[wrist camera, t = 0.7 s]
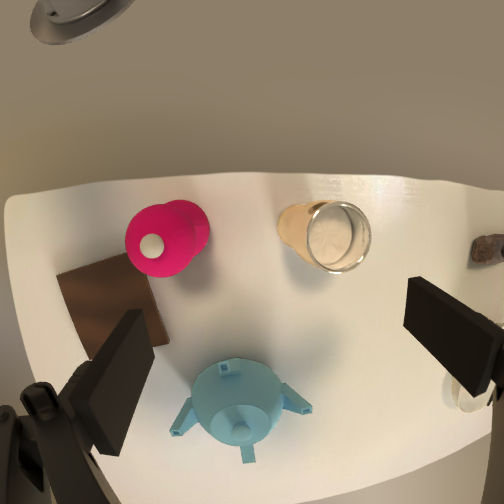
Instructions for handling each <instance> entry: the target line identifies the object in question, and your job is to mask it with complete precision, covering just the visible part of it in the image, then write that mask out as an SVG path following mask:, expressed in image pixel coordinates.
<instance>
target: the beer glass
mask: <svg viewBox="0 0 504 504" xmlns="http://www.w3.org/2000/svg"><path fill="white" fill-rule="evenodd" d="M277 230H278V234H279V237H280V239H281V240H282V241H283V243H284V244H286V245H287V246H289V247H291V248H293V249H294V250H295V251H296V253H297V254H298V255H299V256H300V257H301V258H302V259H303V260H305V261H306V262H307V263H309V264H311V265H313V266H315V267H317V268H320V269H323V270H325V271H327V272H330V273H344V272H348V271H350V270H352V269H354V268H355V267H357V266H358V265H359V264H360V263H361V262H362V261H363V260H364V258H365V257H366V255H367V253H368V251H369V248H370V244H371V228H370V224H369V222H368V219H367V218H366V216H365V215H364V213H363V212H362V211H361V210H360V209H359V208H358V207H356V206H355V205H353V204H350V203H348V202H342V201H335V200H318V201H313V202H310V203H308V204H306V205H293V206H290V207H288V208H287V209H286V210H284V211H283V213H282V214H281V216H280V217H279V220H278V224H277Z"/></svg>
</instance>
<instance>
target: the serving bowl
mask: <svg viewBox="0 0 504 504" xmlns="http://www.w3.org/2000/svg"><path fill="white" fill-rule="evenodd" d="M496 324H497V325H498V326H500V327H501V328H503V329H504V323H496ZM494 387H495V383H494V382H493V381H492V380H491V381H490V384H489V386H488V389H487V391H486V392H485V393H483V394H481V395H479V396H477V397H475V398H473V397H472V396H471V395H470V394H469V393H468V392H467V390H466V389H465V388H464V387H463V386H462V385H461V384H460V383H459V382H458V381H457V380H456V379H455V378H454V377H453V379H452V396H453V400H454V402H455V404H456V405H457V407H458V408H459V410H460V411H461V412H463V413H472V412H475V411H477V410H479V409H481V408H482V407H484V406H485V405H486V404H487V403H488V401H489V398H490V396H491V394H492V391H493V389H494Z"/></svg>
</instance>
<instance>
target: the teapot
mask: <svg viewBox="0 0 504 504" xmlns="http://www.w3.org/2000/svg"><path fill="white" fill-rule="evenodd" d="M282 409H286V410H290V411H293V412H296V413H299V414H301V415H304V414H309V413H312V405H311V404H309V403H308V402H307V401H306V400H305V399H303V398H302V397H301V396H300V395H299V394H298V393H296V392H295V391H294V390H293V389H292V388H290V387H289V386H288V385H287V384H286V383H281V382H280V380H279V378H278V377H277V375H276V374H275V373H274V372H273V371H272V370H271V369H270V368H268V367H267V366H265V365H263V364H261V363H259V362H256V361H253V360H249V359H239V357H238V358H233V359H228V360H224V361H219V362H217V363H215V364H213V365H211V366H209V367H208V368H206V369H205V370H204V371H203V372H202V373H201V374H200V375H199V376H198V377H197V379H196V380H195V382H194V384H193V388H192V394H191V398H187V400H186V402H185V404H184V405H183V407H182V409H181V411H180V412H179V414H178V416H177V418H176V419H175V421H174V423H173V425H172V426H171V428H170V433H171V435H172V437H173V436H183V434H184V433H185V432H186V431H188V430H189V429H190V428H191V427H192V426H193V425H195V424H196V423H197V422H199V423H200V424H201V426H202V427H203V428H204V429H205V430H206V431H207V432H208V433H209V434H210V435H211V436H213V437H214V438H215V439H217V440H218V441H220V442H222V443H224V444H227V445H232V446H240V449H241V455H242V461H243V464H244V463H253V462H256V461H255V454H254V447H253V444H254V443H256V442H258V441H260V440H262V439H263V438H264V437H266V436H267V435H268V434H269V433H270V432H271V430H272V429H273V428H274V426H275V425H276V423H277V422H278V420H279V418H280V416H281V413H282Z"/></svg>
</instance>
